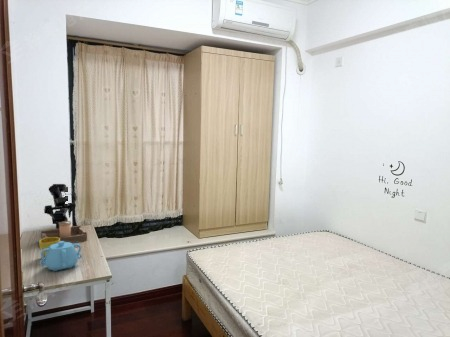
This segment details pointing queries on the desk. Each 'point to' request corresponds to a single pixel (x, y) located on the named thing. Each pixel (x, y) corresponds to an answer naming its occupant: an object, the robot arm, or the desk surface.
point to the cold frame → (75, 230)
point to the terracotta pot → (65, 229)
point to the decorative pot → (60, 256)
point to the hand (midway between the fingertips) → (62, 218)
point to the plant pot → (48, 243)
